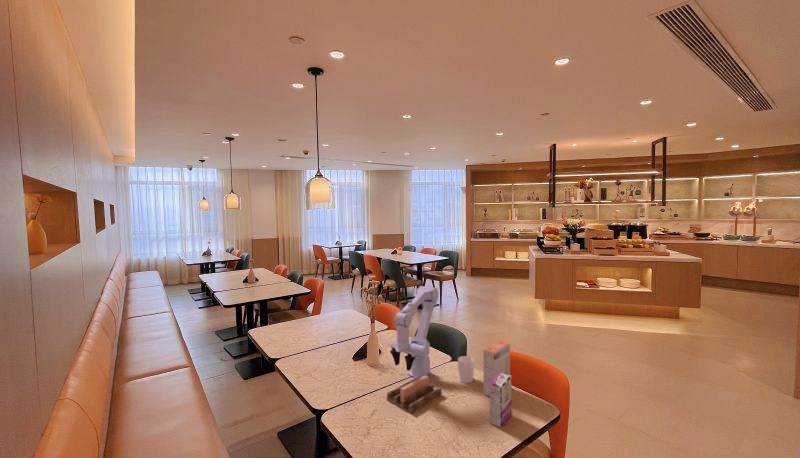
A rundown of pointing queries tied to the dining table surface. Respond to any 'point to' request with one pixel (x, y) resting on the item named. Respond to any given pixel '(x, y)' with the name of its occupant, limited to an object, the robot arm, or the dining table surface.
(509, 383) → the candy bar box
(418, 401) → the slatted brown panel
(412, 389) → the clay strip
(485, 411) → the dining table surface
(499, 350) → the cracker box
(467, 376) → the white cup
